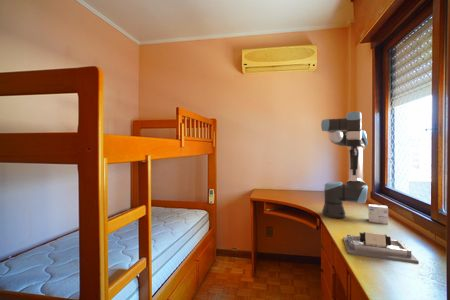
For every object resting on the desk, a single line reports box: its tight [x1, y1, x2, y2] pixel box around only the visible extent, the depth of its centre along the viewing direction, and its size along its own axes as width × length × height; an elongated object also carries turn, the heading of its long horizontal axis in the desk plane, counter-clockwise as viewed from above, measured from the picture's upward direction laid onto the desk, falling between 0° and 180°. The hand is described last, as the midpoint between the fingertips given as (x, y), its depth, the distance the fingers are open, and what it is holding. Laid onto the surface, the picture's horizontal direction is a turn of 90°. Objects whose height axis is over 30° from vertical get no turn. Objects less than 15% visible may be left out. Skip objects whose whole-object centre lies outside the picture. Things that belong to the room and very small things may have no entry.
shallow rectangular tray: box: [346, 234, 412, 257], centre depth 111 cm, size 12×23×2 cm, turn 70°
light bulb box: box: [368, 203, 389, 225], centre depth 153 cm, size 11×7×11 cm, turn 60°
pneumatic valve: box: [359, 231, 392, 247], centre depth 109 cm, size 6×12×12 cm
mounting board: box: [342, 236, 420, 264], centre depth 111 cm, size 19×26×1 cm
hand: (353, 180), depth 133 cm, fingers closed
